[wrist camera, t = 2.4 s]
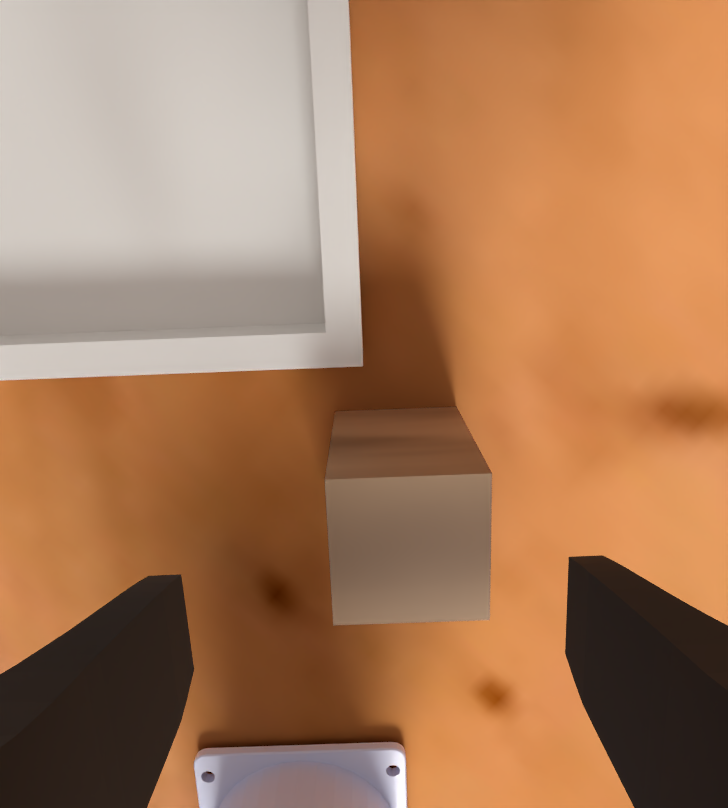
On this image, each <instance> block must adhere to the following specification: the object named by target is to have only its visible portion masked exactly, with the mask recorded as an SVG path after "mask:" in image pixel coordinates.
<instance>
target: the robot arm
mask: <svg viewBox="0 0 728 808" xmlns="http://www.w3.org/2000/svg"><path fill="white" fill-rule="evenodd" d="M565 654H566V657H567V660H568V663H569V666H570V669H571V672H572V675H573V678H574V681H575V684H576V687H577V689H578V692H579V695H580V698H581V700H582V703H583V705H584V707H585V710H586V712H587V714H588V716H589V718H590V720H591V722H592V724H593V726H594V728H595V730H596V732H597V734H598V736H599V738H600V740H601V742H602V744H603V746H604V748H605V750H606V752H607V754H608V756H609V758H610V760H611V762H612V764H613V766H614V768H615V770H616V772H617V774H618V776H619V778H620V780H621V782H622V784H623V786H624V788H625V790H626V792H627V794H628V796H629V798H630V800H631V802H632V804H633V806H634V808H728V626H727V625H725V624H724V623H722V622H720V621H718V620H716V619H714V618H712V617H710V616H708V615H706V614H705V613H703V612H701V611H699V610H697V609H696V608H694V607H692V606H690V605H688V604H687V603H685V602H683V601H681V600H680V599H678V598H676V597H674V596H673V595H671V594H669V593H668V592H666V591H664V590H662V589H661V588H659V587H657V586H656V585H654V584H652V583H651V582H649V581H647V580H646V579H644V578H642V577H641V576H639V575H637V574H635V573H634V572H632V571H630V570H629V569H627V568H625V567H623V566H622V565H620V564H618V563H616V562H614V561H612V560H611V559H608V558H606V557H604V556H581V557H569V569H568V596H567V622H566V649H565ZM193 672H194V666H193V658H192V651H191V644H190V636H189V629H188V622H187V615H186V607H185V600H184V593H183V585H182V578H181V575H160V576H148V577H146V578H144V579H143V580H141V581H139V582H138V583H136V584H135V585H133V586H132V587H130V588H129V589H127V590H126V591H124V592H123V593H121V594H120V595H119V596H117V597H116V598H114V599H113V600H112V601H110V602H109V603H107V604H106V605H105V606H103V607H102V608H100V609H99V610H97V611H96V612H95V613H93V614H92V615H90V616H89V617H88V618H86V619H85V620H83V621H82V622H80V623H79V624H78V625H76V626H75V627H73V628H72V629H71V630H69V631H68V632H66V633H65V634H63V635H62V636H60V637H59V638H57V639H55V640H54V641H52V642H51V643H49V644H48V645H46V646H45V647H43V648H42V649H40V650H39V651H37V652H35V653H34V654H32V655H31V656H29V657H28V658H26V659H25V660H23V661H22V662H20V663H19V664H17V665H15V666H14V667H12V668H10V669H9V670H7V671H5V672H4V673H2V674H0V808H147V806H148V803H149V801H150V798H151V796H152V793H153V791H154V789H155V786H156V784H157V781H158V779H159V776H160V774H161V771H162V769H163V766H164V764H165V761H166V759H167V756H168V753H169V751H170V748H171V746H172V743H173V741H174V738H175V736H176V733H177V730H178V728H179V725H180V722H181V719H182V716H183V712H184V708H185V704H186V701H187V697H188V693H189V688H190V684H191V680H192V676H193ZM391 765H395V766H397V767H395V768H389V766H391ZM194 771H195V778H196V786H197V793H198V801H199V808H407V783H406V754H405V749H404V747H403V746H402V745H401V744H399V743H397V742H373V743H344V744H314V745H284V746H255V747H225V748H205V749H202V750H200V751H199V752H198V753H197V755H196V758H195V761H194ZM206 771H209V772H212V773H213V774H208V773H206Z"/></svg>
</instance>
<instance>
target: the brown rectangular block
mask: <svg viewBox="0 0 728 808" xmlns="http://www.w3.org/2000/svg"><path fill="white" fill-rule="evenodd" d="M325 494H326V511H327V528H328V545H329V562H330V579H331V596H332V613H333V625H361V624H389V623H418V622H446V621H475V620H490V569H491V502H492V473H491V471H490V469H489V467H488V465H487V463H486V461H485V459H484V458H483V456H482V454H481V452H480V450H479V448H478V446H477V444H476V443H475V441H474V439H473V437H472V435H471V433H470V431H469V429H468V427H467V426H466V424H465V422H464V420H463V418H462V416H461V414H460V412H459V411H458V409H457V407H431V408H404V409H378V410H352V411H335V415H334V422H333V428H332V435H331V441H330V448H329V454H328V461H327V467H326V474H325Z"/></svg>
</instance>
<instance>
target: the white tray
mask: <svg viewBox="0 0 728 808" xmlns="http://www.w3.org/2000/svg"><path fill="white" fill-rule="evenodd" d="M359 366H363V338H362V313H361V288H360V263H359V238H358V213H357V188H356V163H355V138H354V113H353V88H352V63H351V38H350V13H349V0H0V380H24V379H49V378H75V377H101V376H127V375H153V374H179V373H204V372H230V371H256V370H282V369H308V368H334V367H359Z"/></svg>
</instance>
